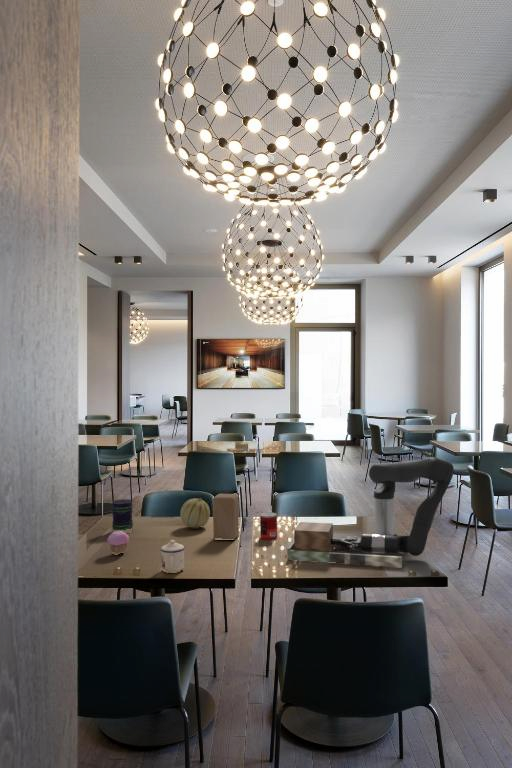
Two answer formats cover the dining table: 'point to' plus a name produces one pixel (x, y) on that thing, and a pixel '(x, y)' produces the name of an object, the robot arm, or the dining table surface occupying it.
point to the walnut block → (313, 537)
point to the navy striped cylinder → (122, 514)
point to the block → (225, 516)
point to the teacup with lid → (172, 556)
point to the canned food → (268, 526)
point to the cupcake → (118, 541)
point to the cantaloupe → (195, 513)
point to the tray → (343, 557)
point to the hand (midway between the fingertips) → (331, 541)
